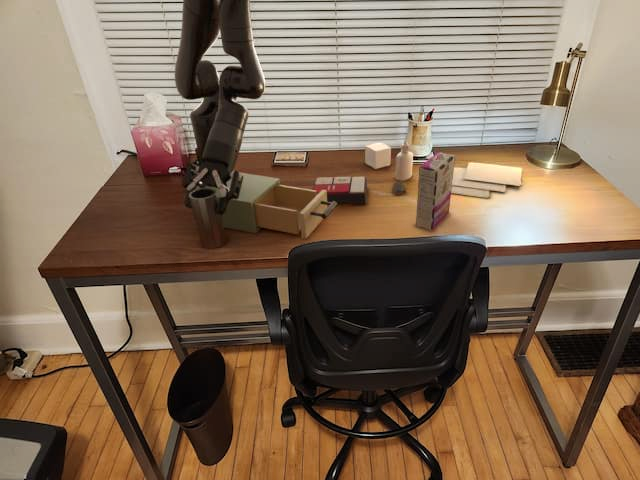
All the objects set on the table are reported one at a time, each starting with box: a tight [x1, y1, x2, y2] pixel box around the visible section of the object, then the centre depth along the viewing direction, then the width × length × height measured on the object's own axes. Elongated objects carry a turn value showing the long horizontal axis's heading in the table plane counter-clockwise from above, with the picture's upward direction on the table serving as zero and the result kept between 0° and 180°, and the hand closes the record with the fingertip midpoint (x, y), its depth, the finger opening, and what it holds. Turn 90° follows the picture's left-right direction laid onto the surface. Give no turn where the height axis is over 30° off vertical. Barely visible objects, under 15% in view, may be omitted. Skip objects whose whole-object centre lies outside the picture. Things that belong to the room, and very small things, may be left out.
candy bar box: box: [415, 151, 456, 232], centre depth 110 cm, size 11×5×16 cm, turn 148°
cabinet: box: [205, 171, 282, 234], centre depth 115 cm, size 17×15×9 cm
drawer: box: [253, 184, 338, 239], centre depth 110 cm, size 20×13×7 cm
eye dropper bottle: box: [394, 139, 414, 182], centre depth 132 cm, size 4×6×12 cm
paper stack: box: [451, 161, 523, 199], centre depth 134 cm, size 23×25×1 cm
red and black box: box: [312, 176, 368, 206], centre depth 125 cm, size 11×4×15 cm
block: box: [392, 180, 407, 196], centre depth 128 cm, size 4×6×2 cm, turn 1°
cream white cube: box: [364, 141, 392, 170], centre depth 143 cm, size 6×6×6 cm
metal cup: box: [189, 188, 227, 249], centre depth 103 cm, size 6×6×13 cm
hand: (203, 210), depth 101 cm, fingers open, 8 cm apart
